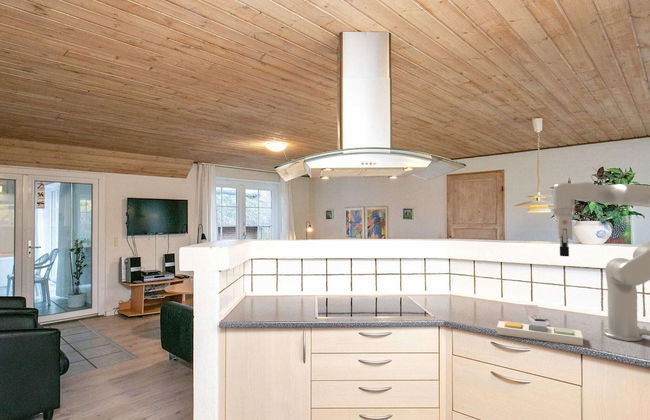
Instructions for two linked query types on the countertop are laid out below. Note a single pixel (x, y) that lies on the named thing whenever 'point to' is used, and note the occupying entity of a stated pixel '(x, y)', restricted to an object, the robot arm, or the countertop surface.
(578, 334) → the keypad
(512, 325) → the key ochre
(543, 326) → the key slate
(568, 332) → the key sage
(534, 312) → the mobile phone
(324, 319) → the countertop surface
